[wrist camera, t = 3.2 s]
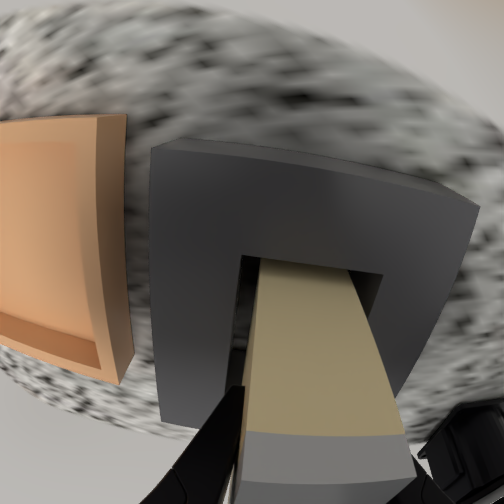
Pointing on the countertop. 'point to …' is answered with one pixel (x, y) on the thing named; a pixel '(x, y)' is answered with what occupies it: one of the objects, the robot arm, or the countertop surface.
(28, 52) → the countertop surface
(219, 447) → the robot arm
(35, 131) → the parts tray
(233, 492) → the block
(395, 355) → the gray rectangular frame
